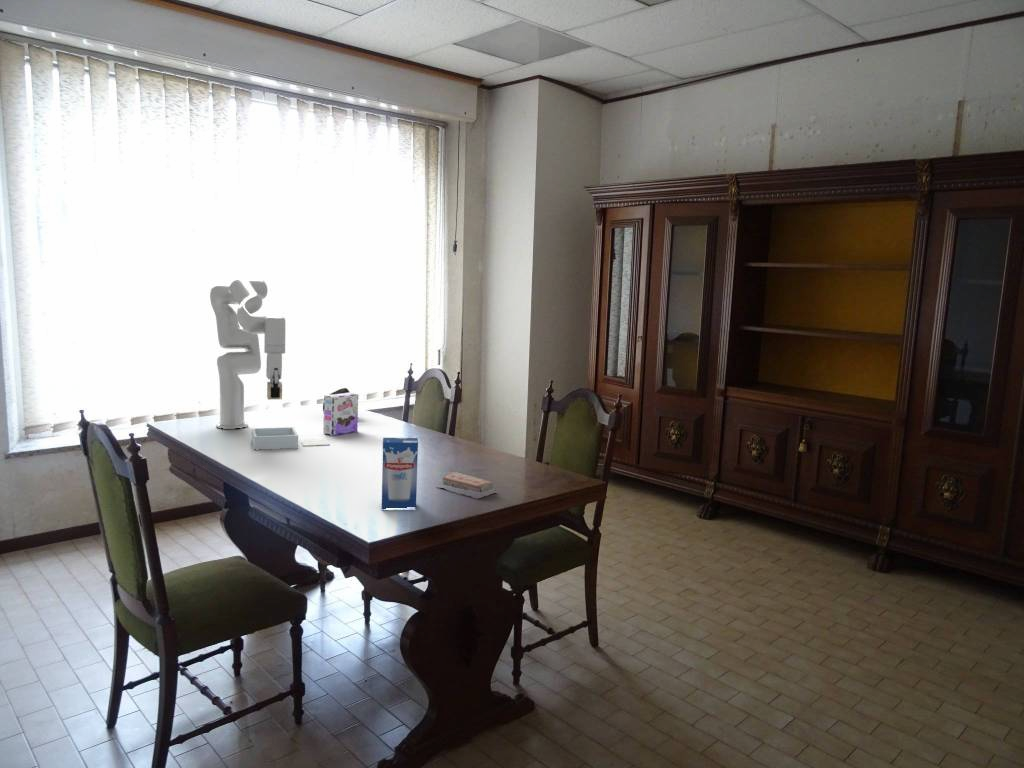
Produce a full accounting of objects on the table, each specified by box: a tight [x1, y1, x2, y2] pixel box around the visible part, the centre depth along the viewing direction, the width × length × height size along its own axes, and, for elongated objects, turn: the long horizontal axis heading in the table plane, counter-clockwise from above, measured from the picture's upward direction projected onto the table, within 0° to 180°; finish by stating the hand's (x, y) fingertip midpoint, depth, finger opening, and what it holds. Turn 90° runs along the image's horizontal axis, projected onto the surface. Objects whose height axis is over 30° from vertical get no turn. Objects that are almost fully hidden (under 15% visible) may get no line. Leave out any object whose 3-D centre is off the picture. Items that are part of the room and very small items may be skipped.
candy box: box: [323, 392, 359, 437], centre depth 309 cm, size 14×6×16 cm, turn 143°
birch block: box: [266, 381, 283, 400], centre depth 281 cm, size 5×5×6 cm
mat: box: [299, 438, 330, 447], centre depth 290 cm, size 10×10×1 cm
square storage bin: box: [251, 426, 299, 451], centre depth 284 cm, size 16×16×5 cm
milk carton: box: [381, 437, 419, 510], centre depth 214 cm, size 10×6×20 cm, turn 99°
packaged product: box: [442, 471, 494, 493], centre depth 235 cm, size 18×5×10 cm
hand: (274, 395), depth 281 cm, fingers closed on birch block, 4 cm apart
